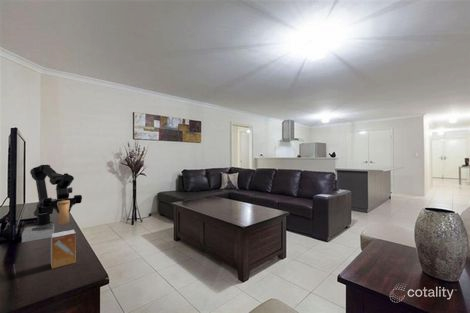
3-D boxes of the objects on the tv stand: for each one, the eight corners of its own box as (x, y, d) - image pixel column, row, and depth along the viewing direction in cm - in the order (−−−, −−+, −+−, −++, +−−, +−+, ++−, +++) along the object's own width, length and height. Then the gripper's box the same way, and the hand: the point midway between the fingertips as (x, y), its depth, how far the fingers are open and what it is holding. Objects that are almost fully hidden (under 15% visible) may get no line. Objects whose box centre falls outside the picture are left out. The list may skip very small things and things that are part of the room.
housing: (21, 242, 117) (21, 234, 117) (25, 235, 127) (25, 227, 127) (53, 236, 125) (53, 229, 125) (54, 230, 135) (54, 223, 135)
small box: (51, 269, 89) (51, 237, 89) (50, 263, 93) (50, 233, 93) (76, 262, 94) (76, 232, 94) (73, 257, 99) (73, 229, 99)
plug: (54, 224, 128) (54, 202, 128) (63, 221, 134) (63, 200, 134) (63, 224, 127) (63, 202, 127) (72, 221, 133) (72, 200, 133)
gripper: (42, 184, 127) (43, 206, 119) (81, 182, 140) (84, 201, 132) (42, 196, 133) (43, 218, 125) (79, 192, 146) (82, 212, 137)
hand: (64, 212), depth 129 cm, fingers closed on plug, 5 cm apart
